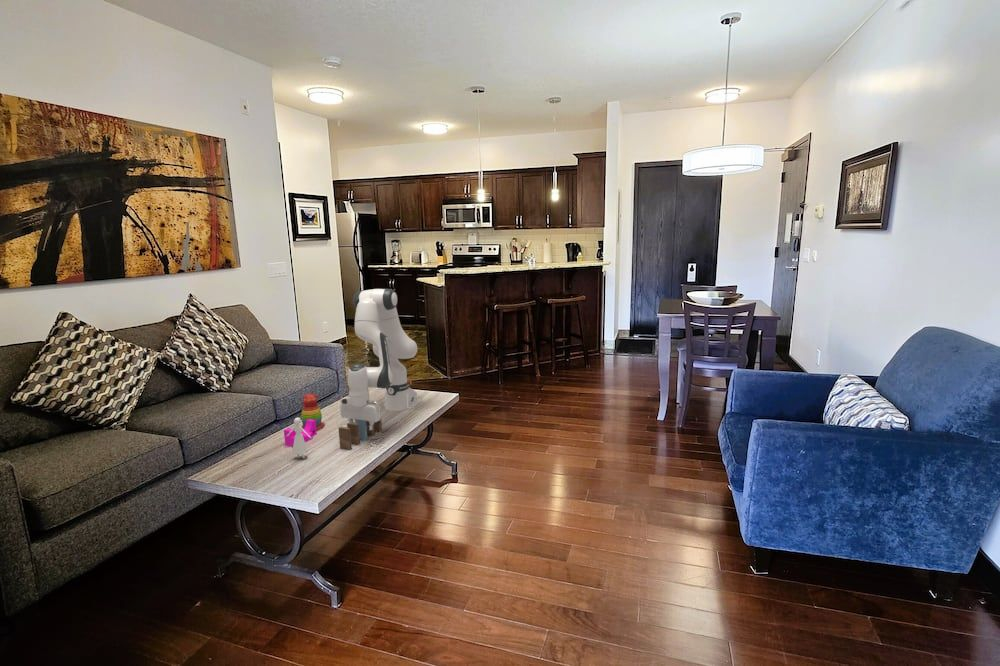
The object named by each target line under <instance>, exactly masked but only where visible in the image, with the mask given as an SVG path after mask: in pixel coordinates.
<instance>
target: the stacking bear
mask: <svg viewBox="0 0 1000 666" xmlns="http://www.w3.org/2000/svg"><path fill="white" fill-rule="evenodd" d="M318 400H319V399H318V394H316V393H315V394H311V393H308V394H307V395H306V394H304V395H303V396H302V402H303V405H304V406H303V407H302V410H301V418H300V419H301V424H302V425H301V426H302V428H303V429H304V428H305V426H306V421H307V420H309V419H312V420H316V431H317V432H318V431H320V429H321V430H322V429H324V428H325V426H326V423H325V422H324V421H322V420H323V419H322V418H323V417H322V415H323V414H322V411H321V408H320V406H319V405H318Z"/></svg>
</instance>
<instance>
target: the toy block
mask: <svg viewBox="0 0 1000 666" xmlns="http://www.w3.org/2000/svg"><path fill="white" fill-rule="evenodd" d="M292 429H293V428H291V427H288V428H286V429H283V437H284V445H285V446H289V447H292V448H293V445H294V439H295V435H296V433H297V432H296V430H295V429H294V430H293V431H292V432H291V433H290V434H289V432H290V431H291V430H292ZM304 430H305V431H306V433H307V434H308V435H309V436H311V438H310V437H309V436H308V435H307V434H306V433H304V432H303V431H302V430H301V433H302V435H303V438H304V441H305V443H307V442H309V441H312V440H313V439H314V437H315V436H316V435H317V434H318V431H316V420H312V419H309V420H307V421H306V426H305V428H304ZM288 434H289V435H288ZM287 435H288V436H287ZM286 436H287V437H286Z"/></svg>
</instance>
